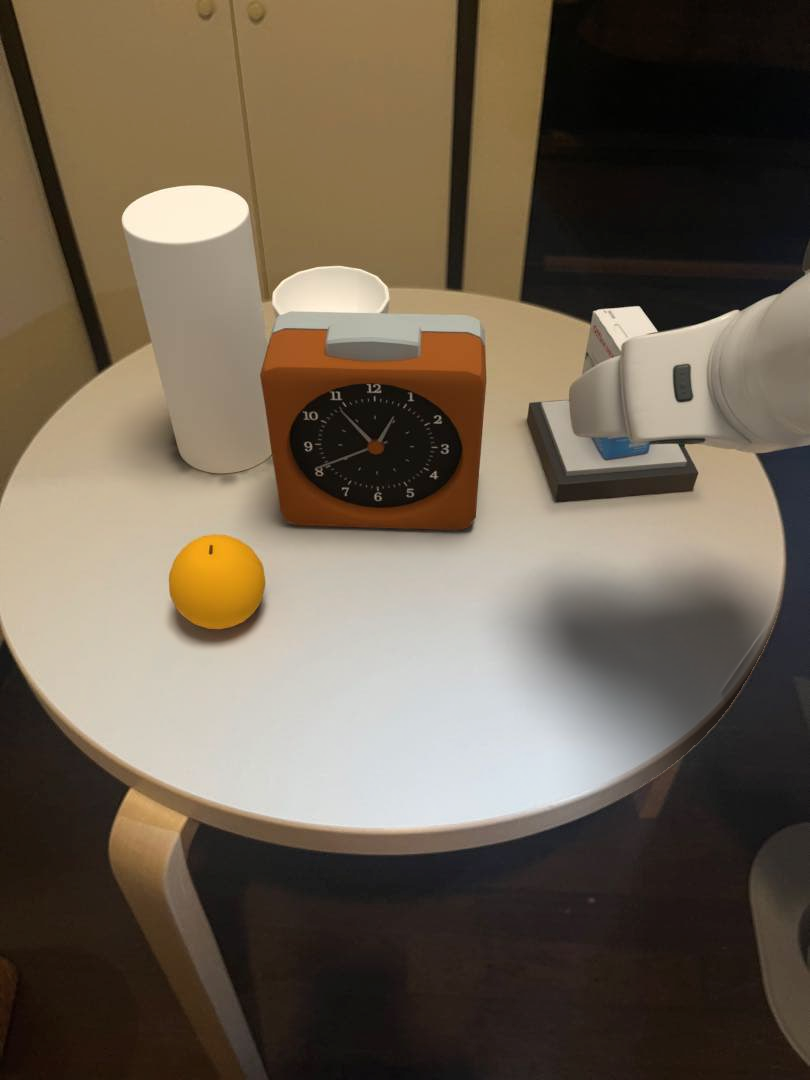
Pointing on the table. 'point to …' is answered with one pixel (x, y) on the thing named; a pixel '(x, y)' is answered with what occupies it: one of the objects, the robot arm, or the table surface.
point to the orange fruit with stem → (216, 581)
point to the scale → (602, 461)
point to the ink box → (605, 344)
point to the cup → (331, 292)
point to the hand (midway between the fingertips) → (679, 409)
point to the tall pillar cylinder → (204, 320)
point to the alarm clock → (376, 418)
